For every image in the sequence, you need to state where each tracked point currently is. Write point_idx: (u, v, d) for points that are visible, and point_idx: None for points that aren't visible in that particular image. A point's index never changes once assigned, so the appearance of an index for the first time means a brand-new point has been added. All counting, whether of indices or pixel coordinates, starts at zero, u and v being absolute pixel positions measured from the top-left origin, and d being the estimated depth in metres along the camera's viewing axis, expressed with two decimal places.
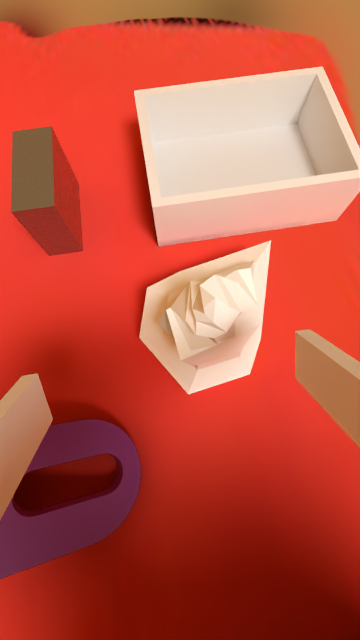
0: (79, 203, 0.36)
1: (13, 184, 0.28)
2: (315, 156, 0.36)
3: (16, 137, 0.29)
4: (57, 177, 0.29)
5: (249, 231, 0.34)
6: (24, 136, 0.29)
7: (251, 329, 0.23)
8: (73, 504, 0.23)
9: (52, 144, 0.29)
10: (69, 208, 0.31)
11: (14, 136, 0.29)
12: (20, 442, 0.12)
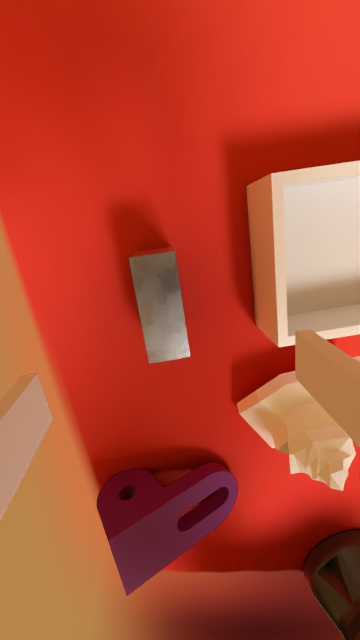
0: None
1: (144, 332, 0.26)
2: None
3: (134, 267, 0.25)
4: None
5: None
6: (144, 266, 0.25)
7: None
8: (205, 516, 0.39)
9: (178, 277, 0.25)
10: None
11: (132, 266, 0.25)
12: (20, 442, 0.12)
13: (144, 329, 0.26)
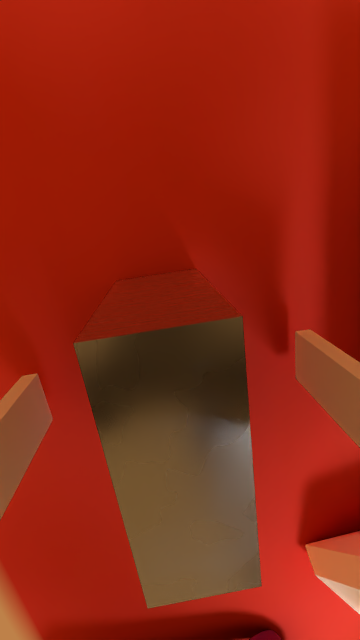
0: None
1: (135, 544, 0.09)
2: None
3: (98, 373, 0.07)
4: None
5: None
6: (132, 368, 0.07)
7: None
8: None
9: (246, 396, 0.08)
10: None
11: (88, 369, 0.07)
12: (20, 442, 0.12)
13: (134, 537, 0.09)
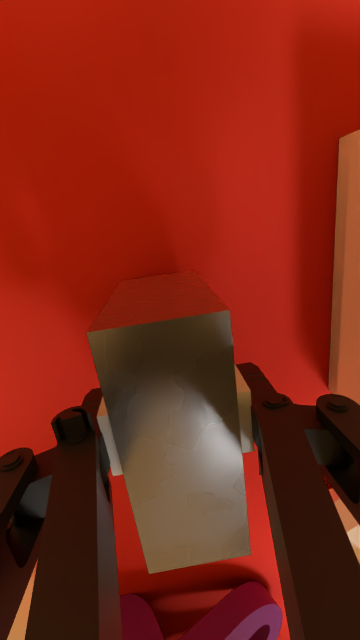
0: None
1: (137, 512, 0.10)
2: None
3: (107, 359, 0.08)
4: None
5: None
6: (136, 354, 0.08)
7: None
8: None
9: (234, 380, 0.09)
10: None
11: (99, 355, 0.08)
12: None
13: (137, 506, 0.10)
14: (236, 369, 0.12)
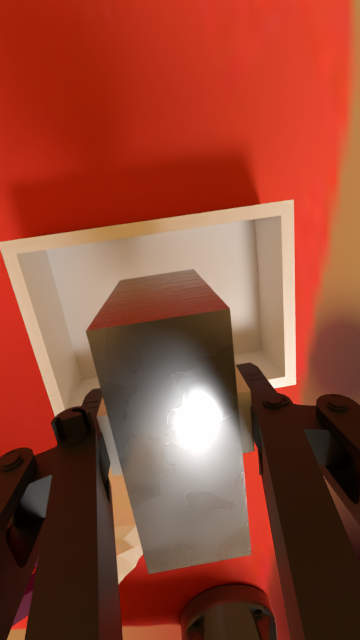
0: None
1: (137, 512, 0.10)
2: (261, 289, 0.29)
3: (107, 357, 0.08)
4: None
5: None
6: (135, 353, 0.08)
7: None
8: None
9: None
10: None
11: (98, 353, 0.08)
12: None
13: (136, 506, 0.10)
14: (236, 369, 0.12)
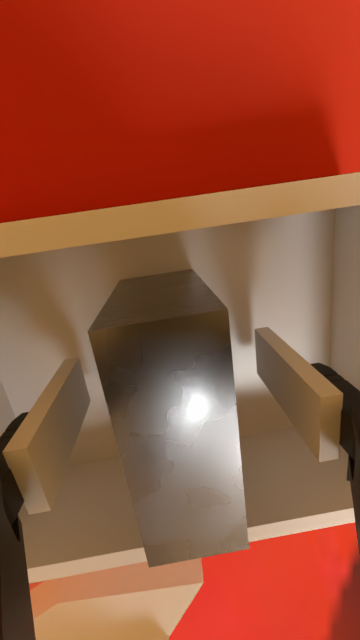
0: None
1: (138, 507, 0.10)
2: (341, 330, 0.17)
3: (108, 357, 0.08)
4: None
5: None
6: (136, 352, 0.08)
7: None
8: None
9: (232, 378, 0.09)
10: None
11: (100, 353, 0.08)
12: (70, 417, 0.13)
13: (137, 501, 0.10)
14: (315, 370, 0.11)
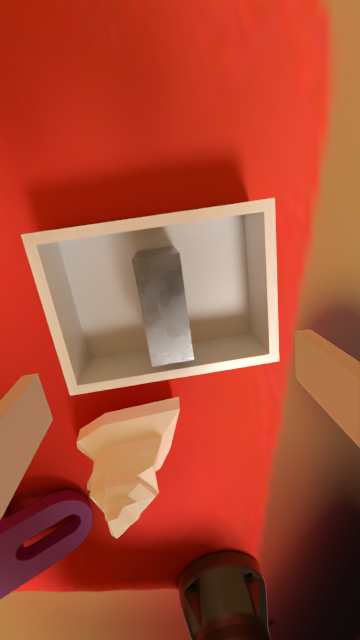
0: None
1: (148, 335, 0.26)
2: (250, 277, 0.32)
3: (138, 269, 0.24)
4: None
5: None
6: (148, 268, 0.24)
7: None
8: (53, 543, 0.40)
9: (182, 279, 0.25)
10: None
11: (135, 268, 0.24)
12: (20, 442, 0.12)
13: (147, 332, 0.26)
14: None
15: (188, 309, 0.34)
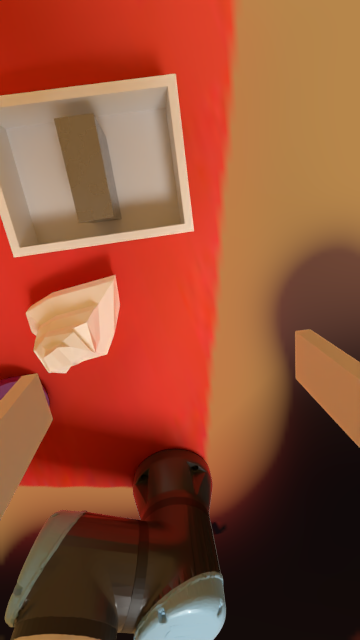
0: None
1: (72, 191, 0.31)
2: (173, 166, 0.37)
3: (60, 127, 0.29)
4: (107, 176, 0.32)
5: None
6: (68, 126, 0.29)
7: (90, 356, 0.38)
8: None
9: (98, 139, 0.30)
10: (113, 192, 0.35)
11: (57, 126, 0.29)
12: (20, 442, 0.12)
13: (72, 188, 0.31)
14: None
15: (123, 198, 0.39)
